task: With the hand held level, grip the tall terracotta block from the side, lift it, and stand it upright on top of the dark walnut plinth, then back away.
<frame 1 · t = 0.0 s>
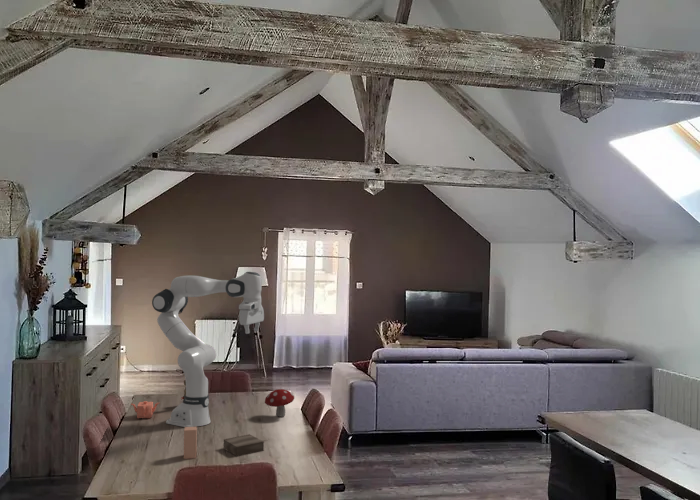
hand: (252, 332, 298), 48 cm above the table, tool pointing down, fingers open, 8 cm apart
decorative mushroom: (279, 417, 320), on the table
wooden mug: (189, 408, 337), on the table
teapot: (145, 417, 316), on the table
terracotta block: (190, 456, 256), on the table
walnut plinth: (243, 449, 267), on the table
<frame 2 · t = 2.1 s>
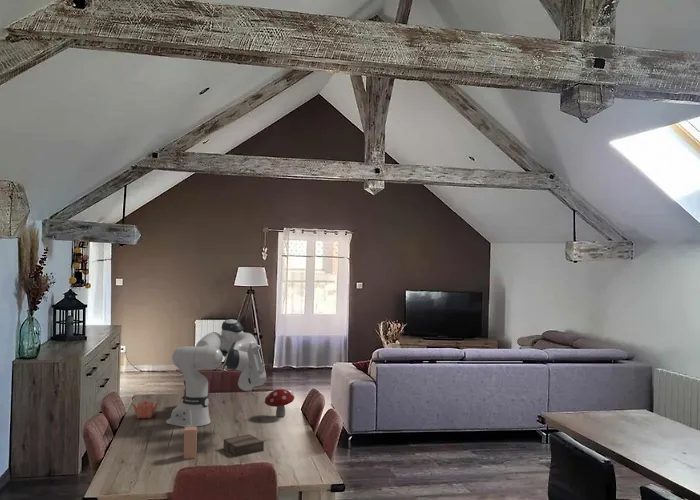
hand: (260, 355, 282), 39 cm above the table, tool pointing upward, fingers open, 8 cm apart
nothing on the table moved.
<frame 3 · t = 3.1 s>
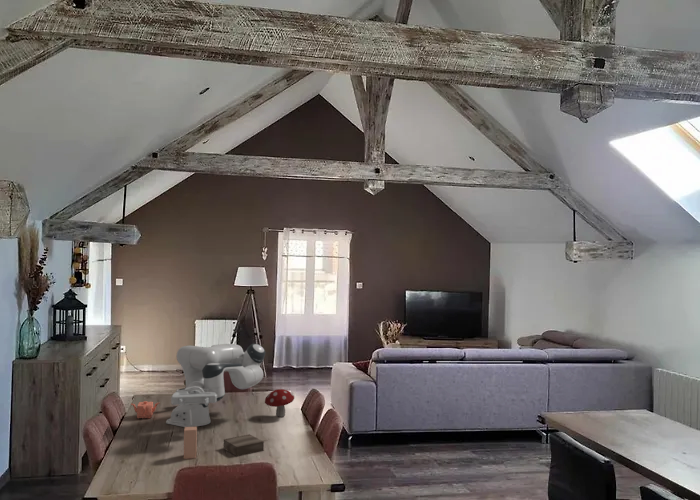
hand: (193, 402, 268), 20 cm above the table, tool horizontal, fingers open, 8 cm apart
nothing on the table moved.
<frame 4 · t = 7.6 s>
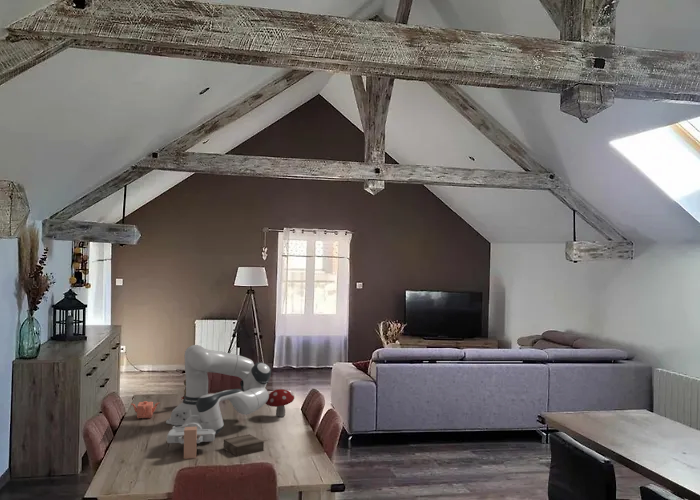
hand: (190, 441, 256), 7 cm above the table, tool horizontal, fingers closed on terracotta block, 5 cm apart
terracotta block: (190, 456, 256), on the table, touching gripper
everything else where it was.
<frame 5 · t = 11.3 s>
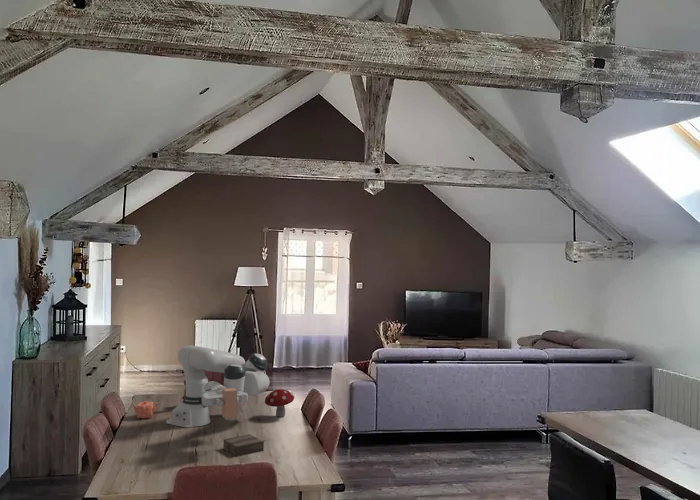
hand: (230, 402, 262), 22 cm above the table, tool horizontal, fingers closed on terracotta block, 5 cm apart
terracotta block: (229, 417, 263), point 15 cm above the table, touching gripper
everything else where it was.
when the fingers open (11 cm above the table, at t = 14.9 s): terracotta block stays where it is, resting on walnut plinth.
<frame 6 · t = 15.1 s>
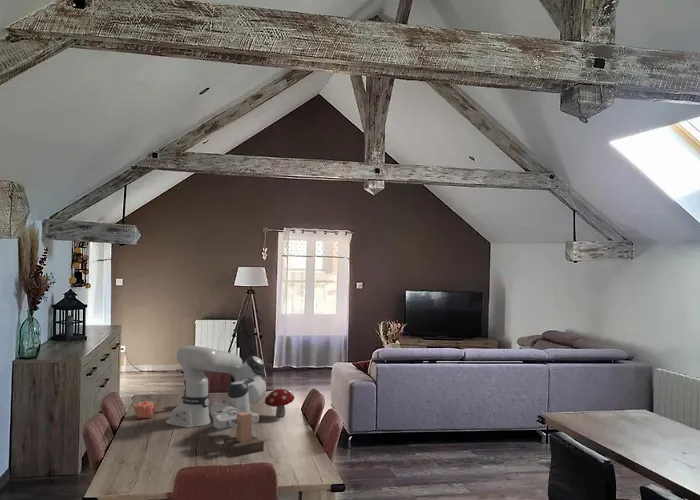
hand: (244, 424, 266), 11 cm above the table, tool horizontal, fingers open, 7 cm apart
terracotta block: (243, 440, 267), point 4 cm above the table, touching walnut plinth
everything else where it was.
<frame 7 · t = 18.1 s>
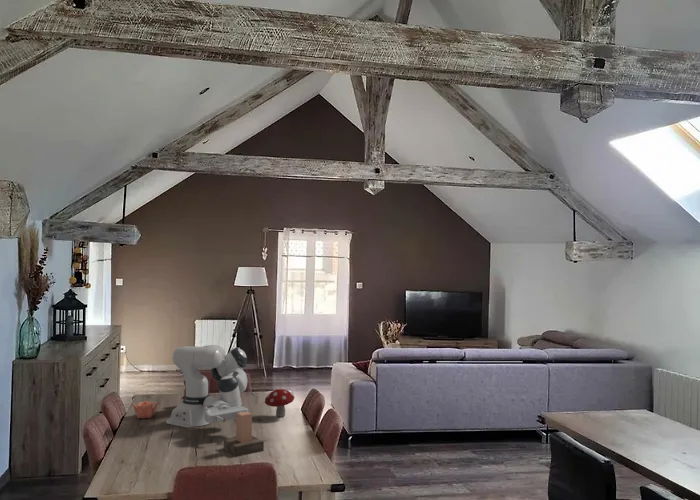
hand: (233, 418, 277), 11 cm above the table, tool horizontal, fingers open, 8 cm apart
nothing on the table moved.
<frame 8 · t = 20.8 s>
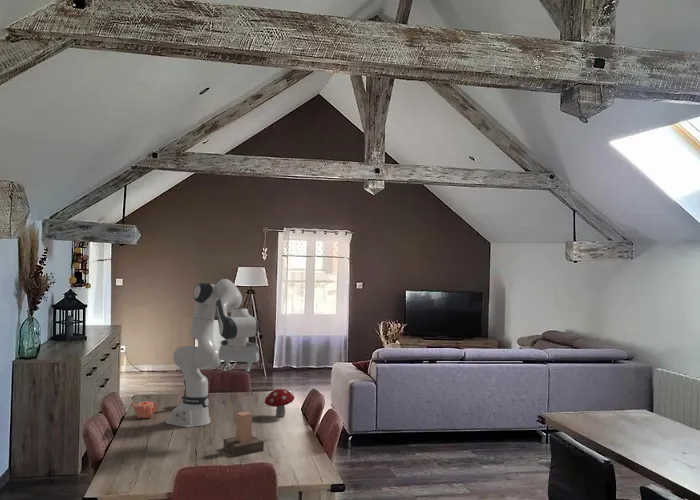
hand: (238, 370, 287), 31 cm above the table, tool pointing down, fingers open, 8 cm apart
nothing on the table moved.
at the end: terracotta block inside the target area on the walnut plinth (0.1 cm from its centre), point 4.0 cm above the walnut plinth's base; terracotta block tilted 0°; the gripper is holding nothing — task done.
